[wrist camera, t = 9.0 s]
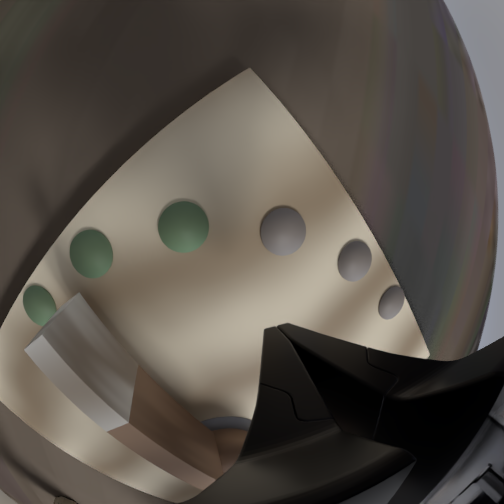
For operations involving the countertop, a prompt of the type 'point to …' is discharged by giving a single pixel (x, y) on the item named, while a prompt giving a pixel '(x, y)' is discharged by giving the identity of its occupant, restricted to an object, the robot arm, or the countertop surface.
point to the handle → (63, 501)
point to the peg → (128, 397)
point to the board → (205, 274)
